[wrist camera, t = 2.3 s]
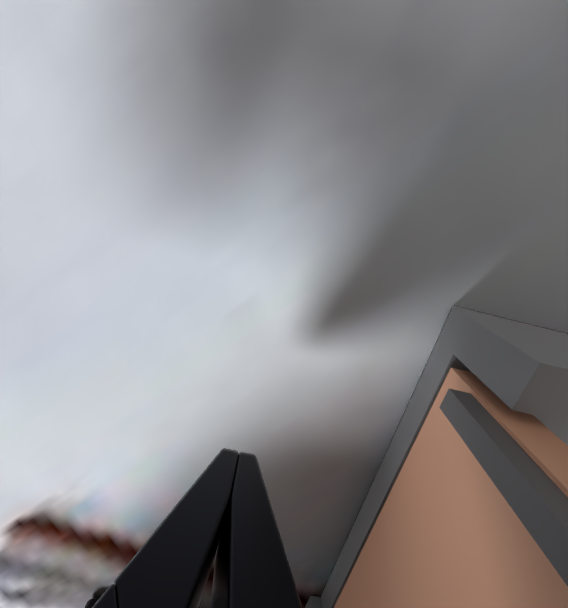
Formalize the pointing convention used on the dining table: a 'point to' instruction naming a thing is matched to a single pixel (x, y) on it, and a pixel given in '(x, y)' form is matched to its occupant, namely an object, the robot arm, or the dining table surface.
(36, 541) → the dining table surface
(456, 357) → the housing
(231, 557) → the robot arm
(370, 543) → the door
